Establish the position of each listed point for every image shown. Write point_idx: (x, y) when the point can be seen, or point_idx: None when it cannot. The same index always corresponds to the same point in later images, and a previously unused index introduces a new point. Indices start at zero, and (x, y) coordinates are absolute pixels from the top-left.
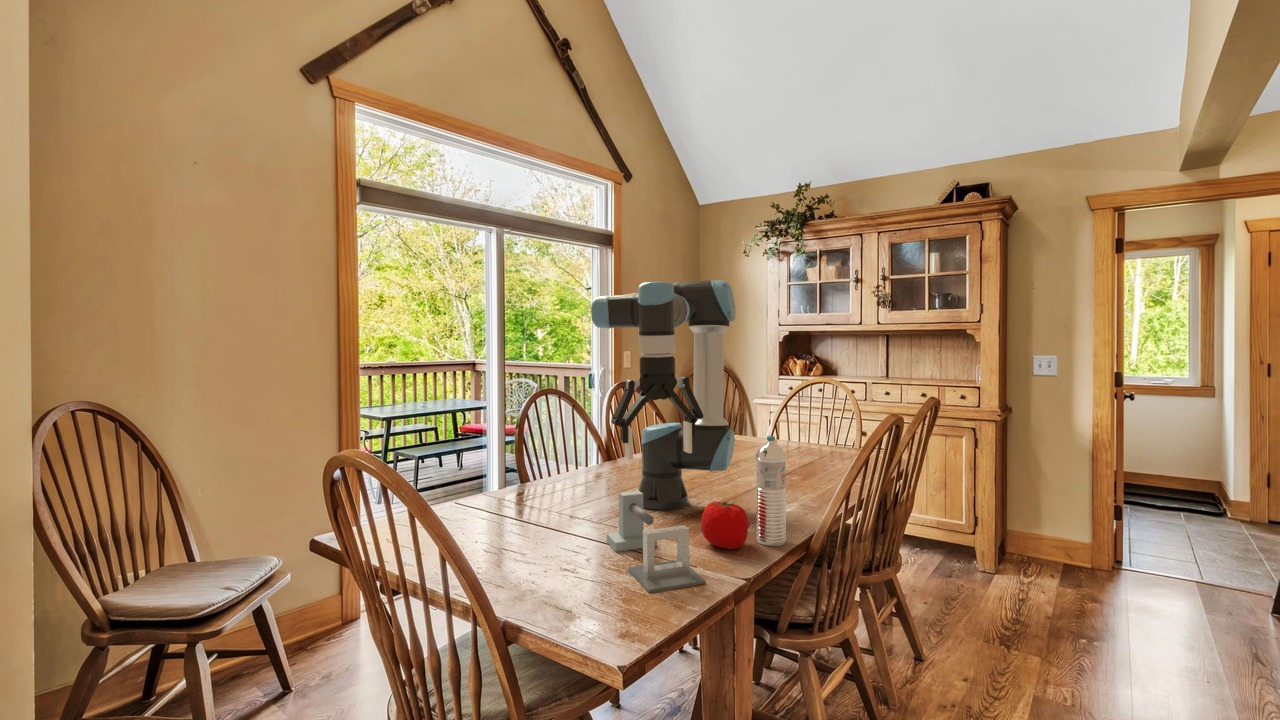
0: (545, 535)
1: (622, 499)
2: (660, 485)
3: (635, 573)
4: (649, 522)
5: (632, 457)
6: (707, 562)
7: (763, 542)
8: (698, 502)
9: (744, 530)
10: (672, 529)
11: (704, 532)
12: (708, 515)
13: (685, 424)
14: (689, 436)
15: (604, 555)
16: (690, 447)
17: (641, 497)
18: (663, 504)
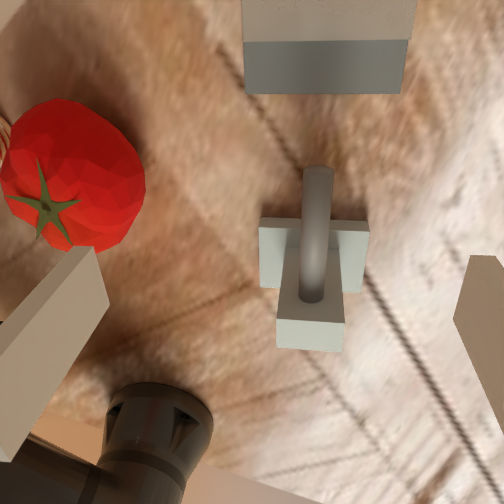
0: (463, 359)
1: (343, 318)
2: (160, 438)
3: (402, 42)
4: (318, 167)
5: (476, 262)
6: (179, 66)
7: (4, 124)
8: (90, 395)
9: (34, 106)
10: (302, 5)
11: (142, 175)
12: (113, 189)
13: (5, 418)
14: (32, 312)
15: (403, 209)
16: (66, 265)
17: (283, 311)
18: (168, 396)
